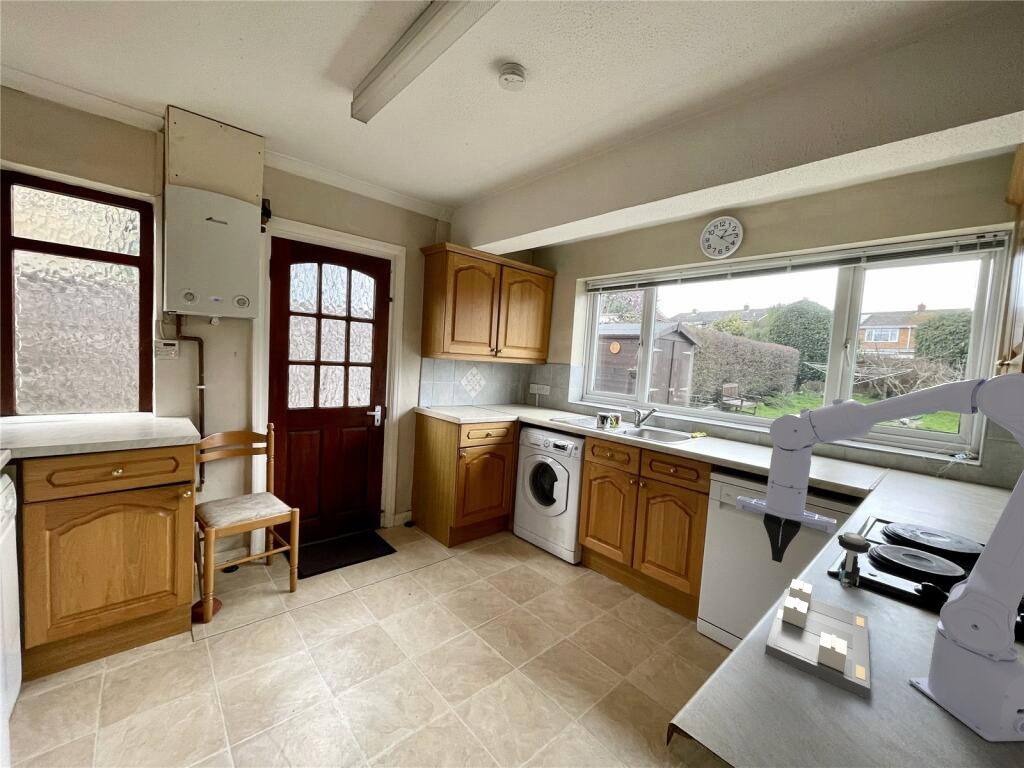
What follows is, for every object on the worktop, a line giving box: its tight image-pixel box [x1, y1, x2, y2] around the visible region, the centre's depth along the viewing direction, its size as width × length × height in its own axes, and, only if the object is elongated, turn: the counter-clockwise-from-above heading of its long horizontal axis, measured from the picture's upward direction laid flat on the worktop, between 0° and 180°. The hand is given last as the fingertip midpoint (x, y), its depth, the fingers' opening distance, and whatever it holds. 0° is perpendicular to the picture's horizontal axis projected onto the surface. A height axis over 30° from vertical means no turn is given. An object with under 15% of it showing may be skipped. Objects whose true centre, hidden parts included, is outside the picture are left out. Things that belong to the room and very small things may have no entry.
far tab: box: [789, 578, 813, 608], centre depth 77 cm, size 4×3×3 cm
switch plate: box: [764, 588, 871, 700], centre depth 68 cm, size 22×12×2 cm, turn 141°
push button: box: [837, 531, 872, 588], centre depth 87 cm, size 7×5×10 cm
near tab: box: [817, 632, 847, 672], centre depth 61 cm, size 4×3×3 cm
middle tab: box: [782, 596, 808, 628], centre depth 70 cm, size 4×3×3 cm
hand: (777, 559), depth 74 cm, fingers closed
